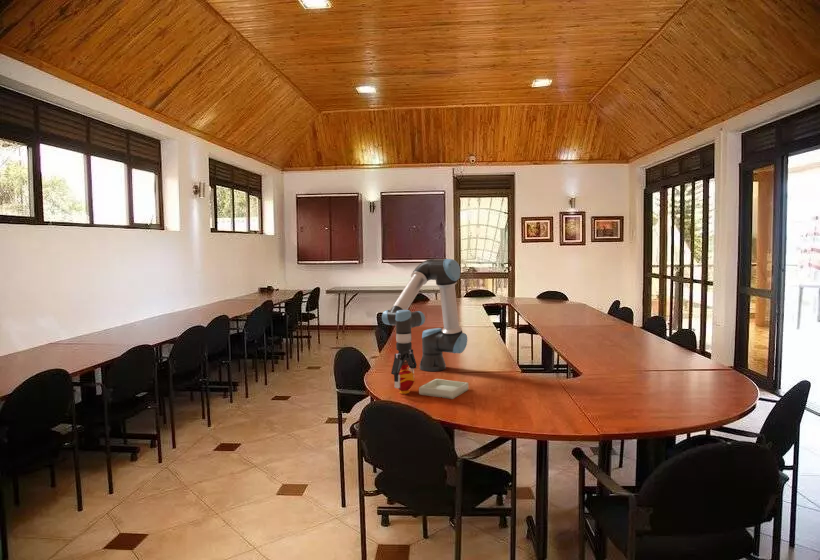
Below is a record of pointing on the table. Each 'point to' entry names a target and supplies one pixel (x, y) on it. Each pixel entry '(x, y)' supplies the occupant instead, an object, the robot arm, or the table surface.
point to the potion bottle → (405, 379)
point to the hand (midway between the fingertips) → (404, 384)
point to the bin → (443, 388)
